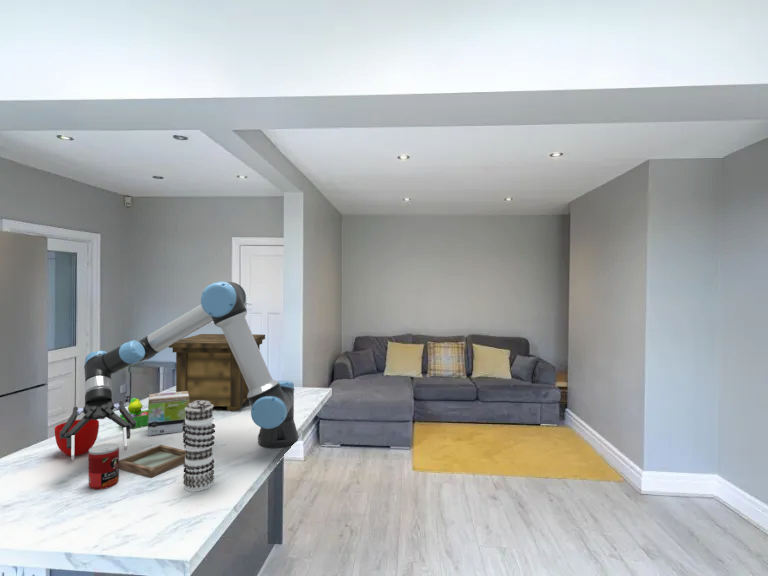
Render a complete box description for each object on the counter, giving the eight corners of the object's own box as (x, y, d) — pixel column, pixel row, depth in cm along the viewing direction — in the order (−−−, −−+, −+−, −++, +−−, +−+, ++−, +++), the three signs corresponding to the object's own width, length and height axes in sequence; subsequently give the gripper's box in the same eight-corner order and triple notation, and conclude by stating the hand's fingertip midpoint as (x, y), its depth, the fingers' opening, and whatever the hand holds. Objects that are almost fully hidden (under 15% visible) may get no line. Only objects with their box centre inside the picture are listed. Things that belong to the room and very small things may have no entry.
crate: (200, 393, 240) (201, 333, 239) (264, 394, 239) (265, 334, 239) (168, 412, 205) (168, 342, 204) (243, 413, 204) (243, 343, 204)
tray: (193, 459, 151) (193, 452, 151) (151, 477, 137) (151, 470, 137) (160, 451, 158) (160, 444, 158) (117, 468, 144) (117, 460, 144)
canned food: (104, 491, 128) (104, 453, 128) (81, 488, 130) (81, 451, 129) (125, 479, 135) (125, 444, 135) (103, 477, 137) (103, 442, 137)
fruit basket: (123, 431, 179) (123, 403, 179) (118, 425, 186) (118, 399, 185) (153, 425, 186) (154, 399, 186) (148, 420, 193) (148, 394, 193)
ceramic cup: (46, 466, 144) (46, 436, 144) (60, 448, 160) (60, 421, 160) (92, 460, 149) (92, 431, 149) (102, 443, 165) (102, 417, 165)
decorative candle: (179, 482, 134) (179, 400, 133) (211, 475, 139) (211, 396, 139) (185, 494, 126) (185, 408, 126) (218, 486, 131) (219, 403, 131)
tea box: (147, 437, 173) (147, 399, 173) (148, 429, 182) (148, 393, 182) (189, 431, 180) (189, 395, 180) (187, 424, 189) (187, 389, 188)
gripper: (139, 394, 156) (144, 449, 144) (52, 404, 142) (49, 467, 130) (141, 382, 152) (147, 438, 140) (51, 391, 138) (48, 455, 125)
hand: (99, 452), depth 135 cm, fingers open, 13 cm apart
